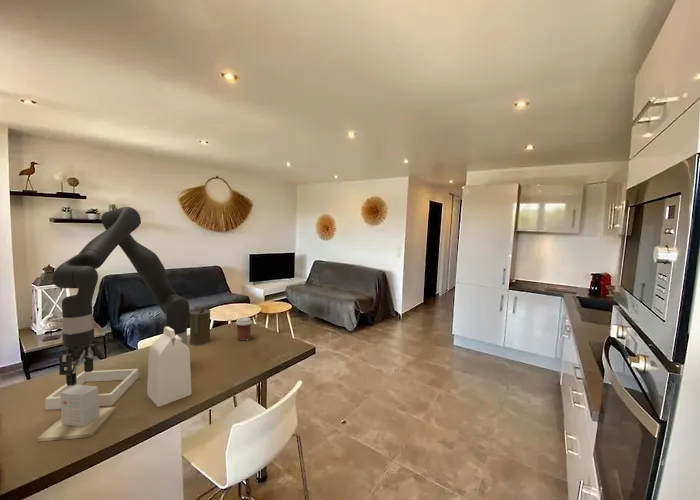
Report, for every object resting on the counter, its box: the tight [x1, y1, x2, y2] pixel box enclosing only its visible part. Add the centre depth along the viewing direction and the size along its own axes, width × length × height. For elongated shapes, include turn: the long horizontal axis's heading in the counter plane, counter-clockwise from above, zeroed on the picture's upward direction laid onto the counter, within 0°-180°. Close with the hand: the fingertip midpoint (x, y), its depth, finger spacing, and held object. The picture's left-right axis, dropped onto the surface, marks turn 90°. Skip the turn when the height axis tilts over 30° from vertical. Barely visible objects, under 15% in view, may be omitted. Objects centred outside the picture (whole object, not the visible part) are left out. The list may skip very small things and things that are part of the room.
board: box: [36, 406, 118, 443], centre depth 98 cm, size 14×14×1 cm
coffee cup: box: [235, 316, 253, 341], centre depth 175 cm, size 9×9×12 cm
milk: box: [146, 326, 192, 408], centre depth 116 cm, size 12×12×26 cm
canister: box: [189, 305, 211, 346], centre depth 168 cm, size 11×10×20 cm
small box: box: [60, 384, 100, 427], centre depth 98 cm, size 8×6×10 cm
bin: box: [44, 368, 139, 411], centre depth 116 cm, size 20×20×4 cm
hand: (80, 378), depth 96 cm, fingers open, 8 cm apart
